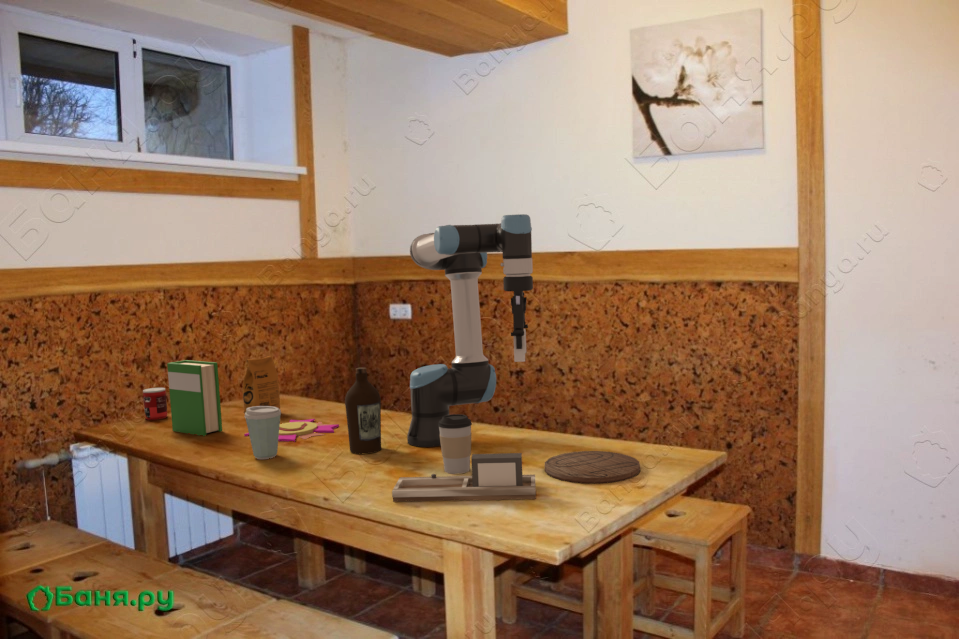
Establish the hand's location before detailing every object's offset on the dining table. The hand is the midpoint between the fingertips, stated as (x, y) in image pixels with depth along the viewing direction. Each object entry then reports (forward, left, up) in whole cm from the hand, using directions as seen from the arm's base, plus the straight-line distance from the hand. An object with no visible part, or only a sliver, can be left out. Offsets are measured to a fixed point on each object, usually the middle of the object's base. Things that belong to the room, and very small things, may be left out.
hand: (520, 357), depth 200 cm
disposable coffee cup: (-22, -77, -31) cm, 86 cm away
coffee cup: (-4, -18, -31) cm, 36 cm away
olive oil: (-27, -48, -31) cm, 63 cm away
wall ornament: (-54, -79, -31) cm, 101 cm away
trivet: (-2, +18, -31) cm, 36 cm away
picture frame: (+16, -6, -30) cm, 34 cm away
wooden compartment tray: (+16, -14, -31) cm, 37 cm away
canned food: (-82, -141, -31) cm, 166 cm away
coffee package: (-81, -99, -31) cm, 132 cm away
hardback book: (-58, -114, -31) cm, 132 cm away
